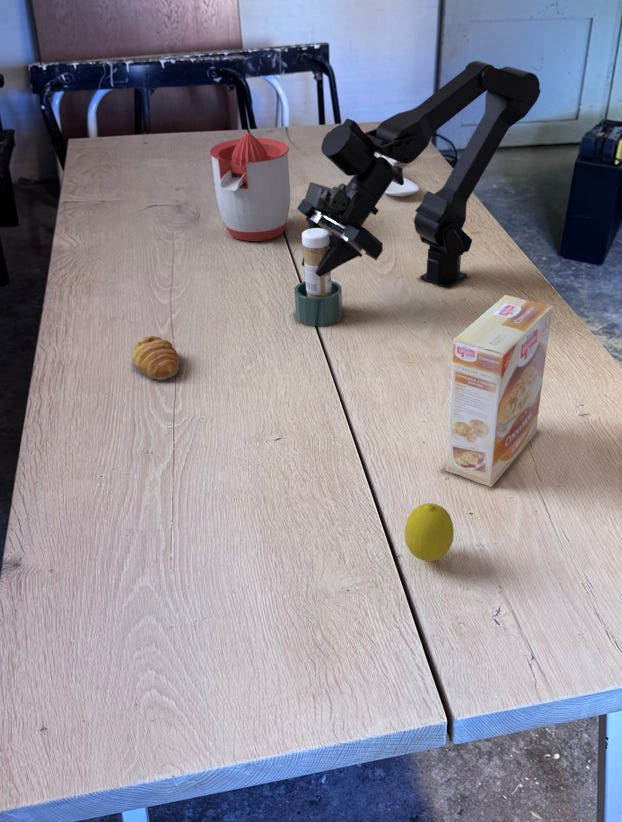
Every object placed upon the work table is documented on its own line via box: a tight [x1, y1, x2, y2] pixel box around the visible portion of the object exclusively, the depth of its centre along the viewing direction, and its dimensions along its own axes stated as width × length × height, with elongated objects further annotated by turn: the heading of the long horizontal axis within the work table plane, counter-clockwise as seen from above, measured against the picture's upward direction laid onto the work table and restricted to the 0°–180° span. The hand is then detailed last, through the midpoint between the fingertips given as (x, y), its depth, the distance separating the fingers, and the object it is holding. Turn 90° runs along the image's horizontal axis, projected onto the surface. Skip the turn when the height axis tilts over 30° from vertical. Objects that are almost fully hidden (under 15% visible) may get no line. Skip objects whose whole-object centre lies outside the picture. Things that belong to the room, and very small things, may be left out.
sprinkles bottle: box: [301, 228, 332, 298], centre depth 147 cm, size 5×5×14 cm
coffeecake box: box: [445, 294, 554, 488], centre depth 113 cm, size 15×7×20 cm, turn 148°
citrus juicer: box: [209, 132, 291, 242], centre depth 177 cm, size 16×17×20 cm
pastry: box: [131, 335, 180, 381], centre depth 137 cm, size 9×7×4 cm
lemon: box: [404, 502, 455, 562], centre depth 99 cm, size 6×6×8 cm
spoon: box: [374, 152, 420, 197], centre depth 208 cm, size 9×32×4 cm, turn 7°
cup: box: [293, 280, 343, 327], centre depth 151 cm, size 8×8×5 cm
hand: (310, 270), depth 146 cm, fingers closed on sprinkles bottle, 4 cm apart
